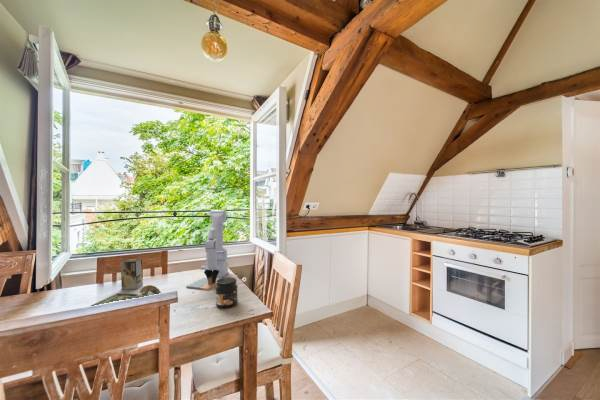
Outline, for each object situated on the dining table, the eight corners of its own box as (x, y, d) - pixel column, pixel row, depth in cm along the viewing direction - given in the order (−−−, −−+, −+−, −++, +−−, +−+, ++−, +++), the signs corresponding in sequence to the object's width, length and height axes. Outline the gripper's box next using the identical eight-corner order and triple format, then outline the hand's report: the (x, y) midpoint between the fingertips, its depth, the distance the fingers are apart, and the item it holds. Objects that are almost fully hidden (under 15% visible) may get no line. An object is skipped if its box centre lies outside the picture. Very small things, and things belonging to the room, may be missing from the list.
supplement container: (213, 309, 118) (212, 284, 118) (218, 300, 128) (218, 277, 128) (235, 308, 119) (235, 283, 118) (239, 299, 129) (239, 276, 129)
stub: (215, 280, 157) (215, 272, 157) (223, 281, 156) (223, 273, 156) (199, 289, 143) (199, 280, 143) (207, 290, 142) (207, 281, 141)
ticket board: (203, 279, 160) (203, 277, 160) (215, 280, 158) (215, 278, 158) (186, 288, 146) (186, 285, 146) (199, 289, 143) (199, 287, 143)
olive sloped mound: (171, 283, 134) (142, 298, 114) (171, 297, 134) (143, 315, 114) (117, 280, 139) (80, 295, 119) (117, 294, 139) (81, 311, 119)
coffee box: (143, 285, 152) (142, 258, 151) (136, 289, 145) (136, 261, 145) (128, 285, 151) (127, 259, 151) (120, 289, 145) (120, 261, 145)
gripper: (196, 260, 148) (197, 283, 148) (217, 262, 143) (218, 285, 144) (204, 257, 154) (205, 279, 155) (225, 259, 150) (225, 281, 150)
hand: (212, 282), depth 149 cm, fingers closed on stub, 2 cm apart
